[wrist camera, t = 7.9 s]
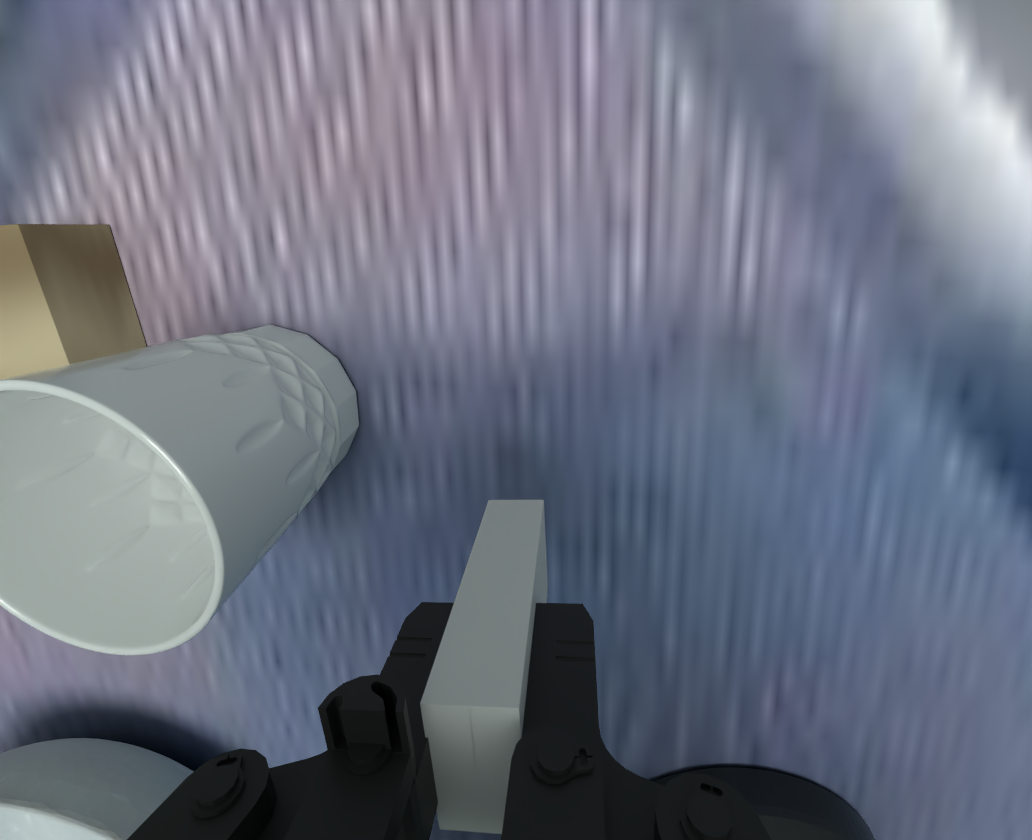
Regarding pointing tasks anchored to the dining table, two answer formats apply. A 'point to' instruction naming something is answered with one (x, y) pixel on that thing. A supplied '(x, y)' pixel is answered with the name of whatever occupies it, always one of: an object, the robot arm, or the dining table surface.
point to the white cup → (160, 480)
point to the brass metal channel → (62, 297)
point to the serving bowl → (82, 789)
